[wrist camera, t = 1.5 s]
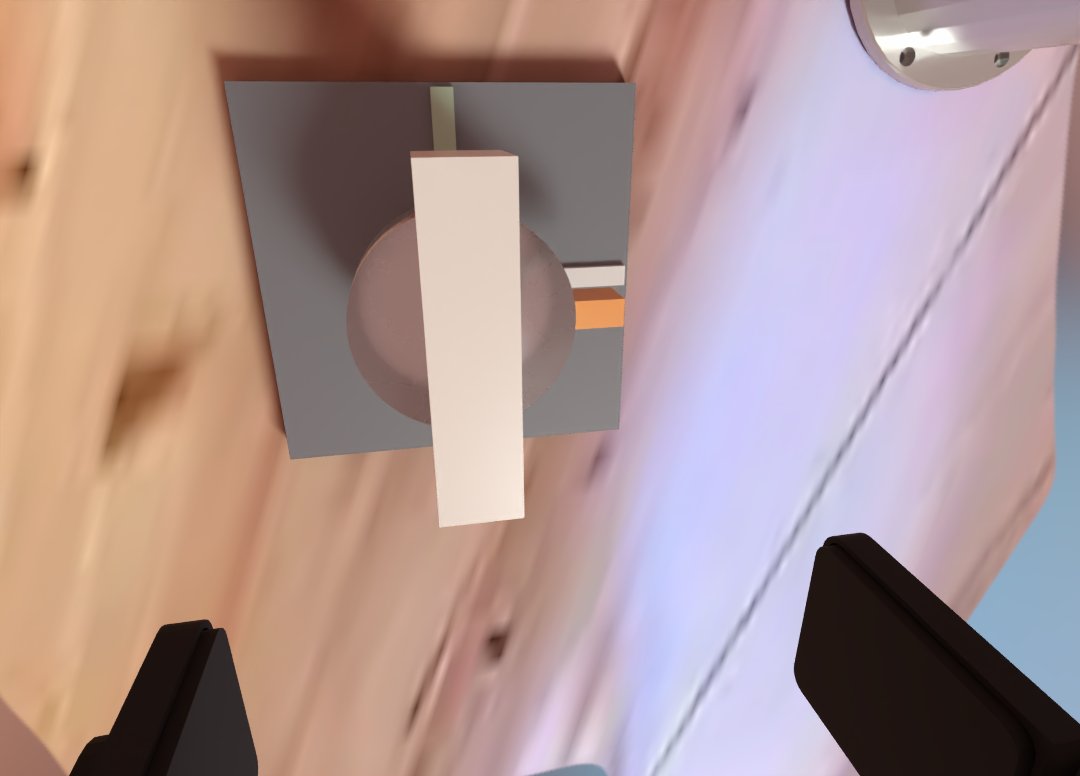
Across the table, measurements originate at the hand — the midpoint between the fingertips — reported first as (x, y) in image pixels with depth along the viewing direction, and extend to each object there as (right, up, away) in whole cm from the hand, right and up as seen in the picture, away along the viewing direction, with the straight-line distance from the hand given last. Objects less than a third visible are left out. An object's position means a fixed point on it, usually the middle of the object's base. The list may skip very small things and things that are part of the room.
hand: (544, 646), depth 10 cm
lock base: (-5, +10, +23) cm, 26 cm away
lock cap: (-2, +8, +18) cm, 20 cm away
